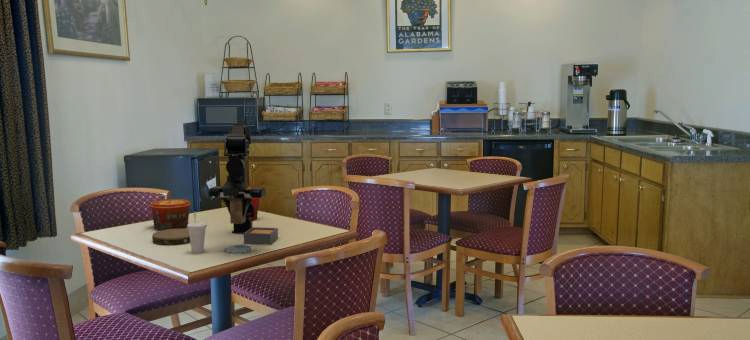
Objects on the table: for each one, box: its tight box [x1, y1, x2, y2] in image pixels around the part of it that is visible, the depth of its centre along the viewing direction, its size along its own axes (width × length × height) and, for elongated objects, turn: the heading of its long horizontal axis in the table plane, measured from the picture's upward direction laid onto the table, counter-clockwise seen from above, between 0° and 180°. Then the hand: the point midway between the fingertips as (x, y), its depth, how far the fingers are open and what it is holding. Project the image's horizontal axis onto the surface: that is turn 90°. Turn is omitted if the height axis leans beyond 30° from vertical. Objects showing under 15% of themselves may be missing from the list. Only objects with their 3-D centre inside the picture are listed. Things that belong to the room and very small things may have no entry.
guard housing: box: [243, 226, 279, 245], centre depth 216 cm, size 10×10×4 cm
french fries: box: [247, 186, 260, 222], centre depth 252 cm, size 9×8×15 cm
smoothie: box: [186, 211, 208, 254], centre depth 200 cm, size 6×6×14 cm
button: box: [250, 229, 273, 234], centre depth 216 cm, size 8×8×2 cm
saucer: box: [224, 244, 252, 254], centre depth 203 cm, size 9×9×1 cm
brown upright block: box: [229, 199, 246, 225], centre depth 202 cm, size 4×4×8 cm
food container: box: [148, 198, 192, 231], centre depth 237 cm, size 16×16×11 cm
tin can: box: [151, 228, 191, 247], centre depth 217 cm, size 16×16×3 cm
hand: (237, 216), depth 202 cm, fingers closed on brown upright block, 4 cm apart
